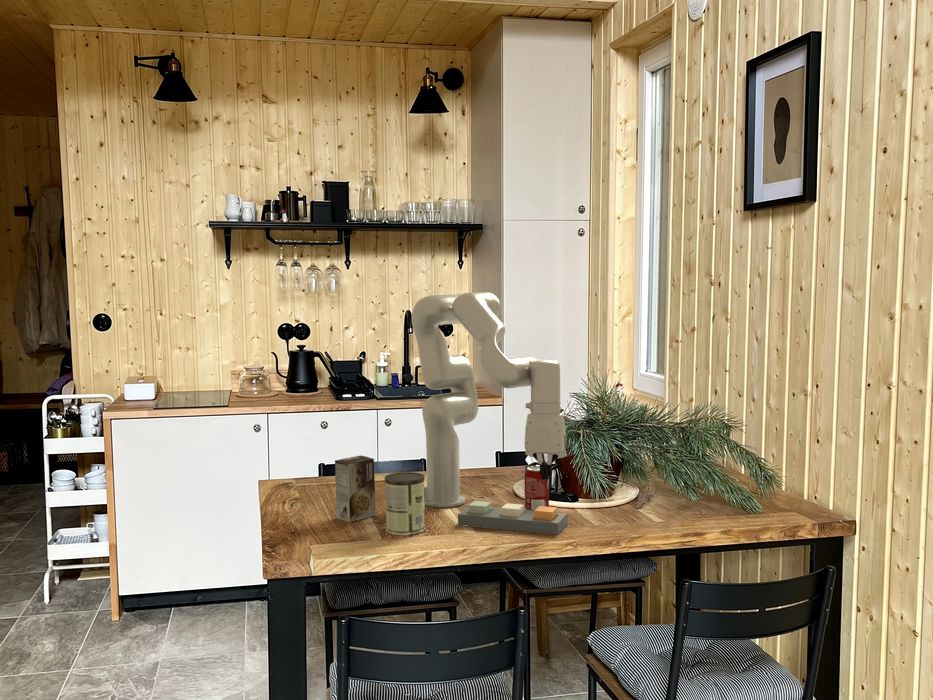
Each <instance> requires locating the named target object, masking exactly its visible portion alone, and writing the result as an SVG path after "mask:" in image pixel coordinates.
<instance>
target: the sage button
mask: <svg viewBox="0 0 933 700" xmlns="http://www.w3.org/2000/svg"><path fill="white" fill-rule="evenodd" d="M492 503H493V502H492V501H484V500H483V501H482V500H480V501H479V500H473V501H472V502H471V503H469V504H468V507H469V513H475V514H486V515H487V514H488V513H489V512H491V511H492V507H493V505H492Z"/></svg>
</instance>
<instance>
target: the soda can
mask: <svg viewBox="0 0 933 700" xmlns="http://www.w3.org/2000/svg"><path fill="white" fill-rule="evenodd" d="M549 490H550V479H549V480H545V479H544V480H542V479H541V476H540V465H537V466H536V465H531V466H528V467H526V471H525V472H524V510H536V509H537V508H538V507H539V506H544V507H550V491H549Z"/></svg>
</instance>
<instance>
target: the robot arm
mask: <svg viewBox="0 0 933 700" xmlns="http://www.w3.org/2000/svg"><path fill="white" fill-rule="evenodd" d="M501 311H502V307H501V301H500V300H499V298H498V297H497V296H496V295H495V294H493V293H491V292H486V291H485V292H482V291H481V292H479V291H478V292H464V293H461V294H434V295H432V294H431V295H427V296H424V297H422V298H420V299H419V300H418V301H416V303H415V304H414V306H413V309H412V313H411V325H412V330H413V332H414V336H415V339H416V342H417V348H418V356H419V362H420V363H419V364H420V369H421V375H422V381H423V383H424V385H425V387H426V388H428V389H429V390H436V391H437V390H445V389H450V391H451V392H447V393H445V392H444V393H438V394H435V395H432V396H430V397H429V398H427V399H426V400H425V401H424V403H423V405H422V409H421V410H422V411H421V412H422V414H421V415H422V420H423V424H424V428H425V429H424V430H425V445H426V447H425V448H426V485H424V503H425V506H427V507H432V508H451V507H452V508H453V507H458V506H459V507H460V506H461V505H463V504H465V503H466V497H465V496H463V495H461V489H460V488H461V485H460V484H461V482H460V476H461V475H460V474H461V472H460V440H459V436H458V434H457V432H456V430H455V429H454V426H455V427H456V426H459V425H466V424H470V423H471V422H473V421H474V420H475V419H476V418H477V416H478V413H479V400H478V393H477V386H476V379H475V374H474V368H473V366H472V364H471V362H470V361H469V360H468V359H467V358H466V357H465V356H463V355H460V354H452V355H450V353H449V352H450V351H449V348H448V347H449V346H448V342H447V338H446V336H445V335H444V332H442V330H441V329H440V327H439V326H440V325H455V324H456V325H458V324H460V325H462V326H463V328H464V329H466V331H467V332H468V333H469V335H470V336H471V337H472V338H473V340H475V342H476V343H477V344H478V345H479V346H478V347H479V348H478V349H479V350H478V353H479V358H480V364H481V365H482V367H483V370H484V371H485V372H486V373H487V374H488V375H489V377H490V378H491V379H492V380H493V381H494V383H496V384H497V385H498V386H499V387H501V388H503V389H515V388H525V387H530V401H529V402H527V403H525V409H529V413H527V417H526V421H525V432H524V450H525V453H524V454H525V455H526V456H529V457H532V458H533V459H534V460H535V461H536V462H537V464H538V465H539V466H540V476H541V479H542V480H544V479H545V480H549V481H550V479H551V477H553V463H554V462H555V461H557V459H561V458H563V459H564V458H565V457H566V456H567V450H566V448H567V431H566V424H565V419H564V415H563V413H561V365H560V363H559V361H557V360H552V359H539V358H535V357H531V356H529V357H520V358H519V357H518V358H510V359H508V358H507V357H506V356H505V355H504V353H503V352H502V351H501V350H500V348H499V347H498V344H500V342H501V341H502V339H504V336H505V335H506V334H505V333H506V327H505V325H504V324H503V322H501V320H500V319H499V316H500V315H501ZM545 454H546V455H547V459H546V457H545Z"/></svg>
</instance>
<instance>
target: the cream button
mask: <svg viewBox="0 0 933 700" xmlns="http://www.w3.org/2000/svg"><path fill="white" fill-rule="evenodd" d="M500 508H501V516H509V517H521V516H522V515H523V514H524V510H525V504H519V503H507V502H506V503H505V504H504V505H502V506H501V507H500Z"/></svg>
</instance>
